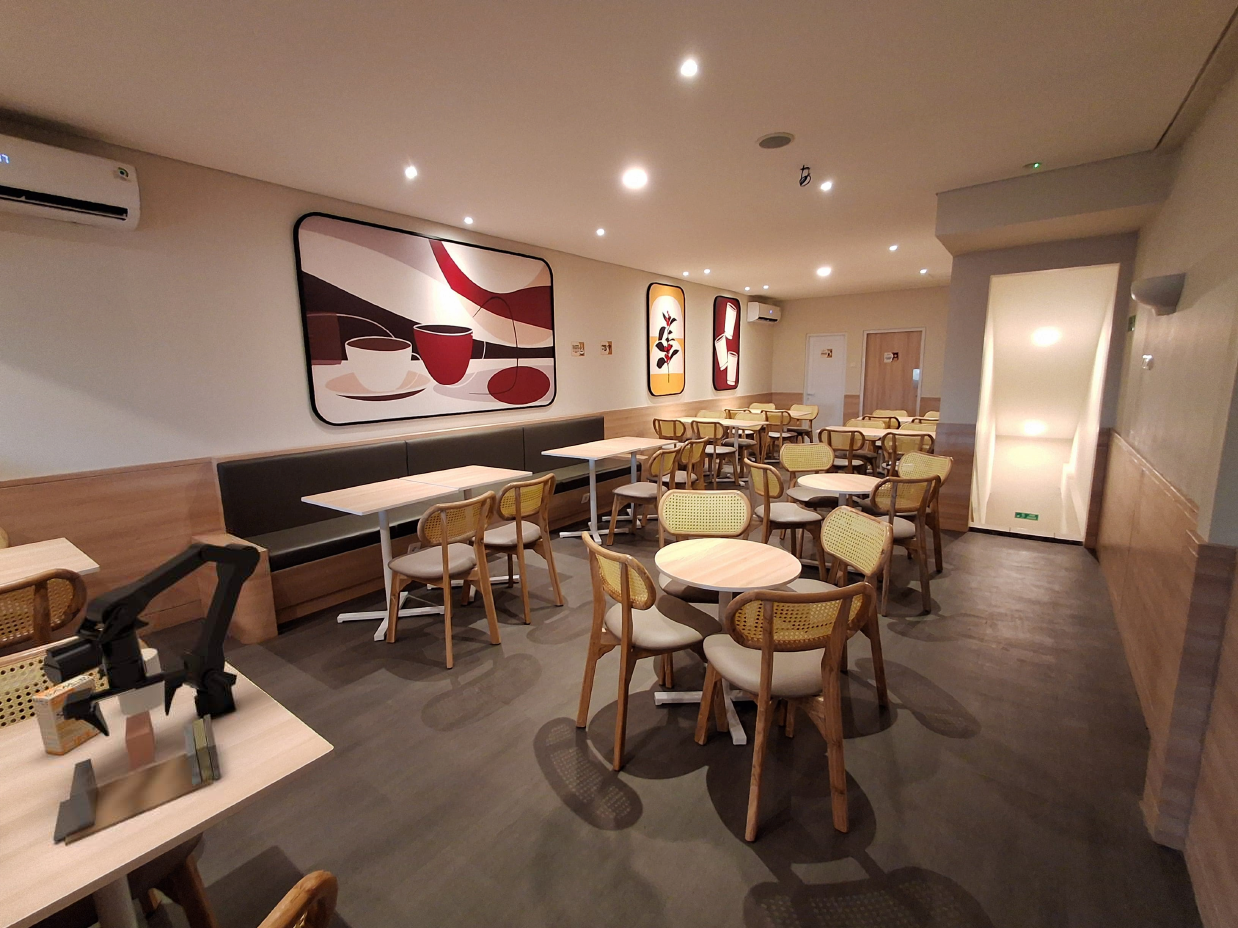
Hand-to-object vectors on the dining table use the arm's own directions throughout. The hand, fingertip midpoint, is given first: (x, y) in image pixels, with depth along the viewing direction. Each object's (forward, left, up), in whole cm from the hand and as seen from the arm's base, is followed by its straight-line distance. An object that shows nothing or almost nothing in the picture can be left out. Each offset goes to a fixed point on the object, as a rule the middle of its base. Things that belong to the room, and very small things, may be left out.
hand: (138, 724), depth 111 cm
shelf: (-1, +13, -7) cm, 15 cm away
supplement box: (+11, -15, -7) cm, 20 cm away
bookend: (+9, +13, -6) cm, 17 cm away
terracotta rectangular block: (0, 0, -7) cm, 7 cm away
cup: (0, -22, -7) cm, 23 cm away
